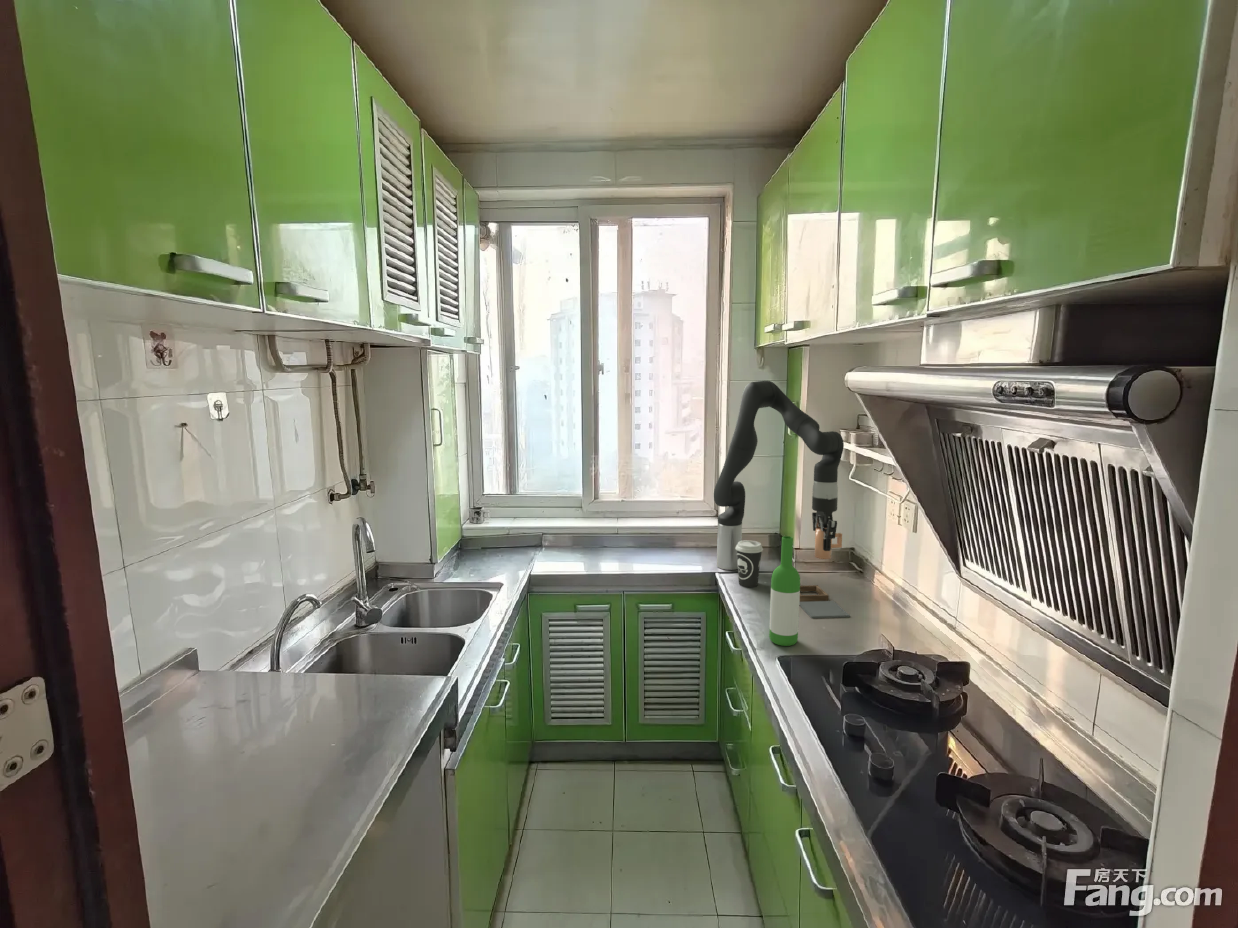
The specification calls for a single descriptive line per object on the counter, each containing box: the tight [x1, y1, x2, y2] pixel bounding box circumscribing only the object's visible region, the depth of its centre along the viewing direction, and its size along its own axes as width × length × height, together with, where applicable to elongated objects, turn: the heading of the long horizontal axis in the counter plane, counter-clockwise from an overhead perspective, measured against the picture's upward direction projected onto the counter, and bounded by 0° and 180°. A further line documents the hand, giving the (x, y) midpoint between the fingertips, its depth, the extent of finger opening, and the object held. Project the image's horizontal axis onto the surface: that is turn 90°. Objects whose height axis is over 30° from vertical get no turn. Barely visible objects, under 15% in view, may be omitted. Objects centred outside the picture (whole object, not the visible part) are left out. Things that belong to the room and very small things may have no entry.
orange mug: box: [814, 528, 843, 560], centre depth 192 cm, size 8×5×9 cm, turn 94°
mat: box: [799, 600, 851, 619], centre depth 192 cm, size 12×12×1 cm
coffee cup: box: [735, 539, 764, 588], centre depth 214 cm, size 10×10×15 cm
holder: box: [799, 584, 830, 602], centre depth 204 cm, size 10×10×2 cm
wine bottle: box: [768, 535, 801, 647], centre depth 168 cm, size 8×8×30 cm
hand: (823, 547), depth 192 cm, fingers closed on orange mug, 5 cm apart
